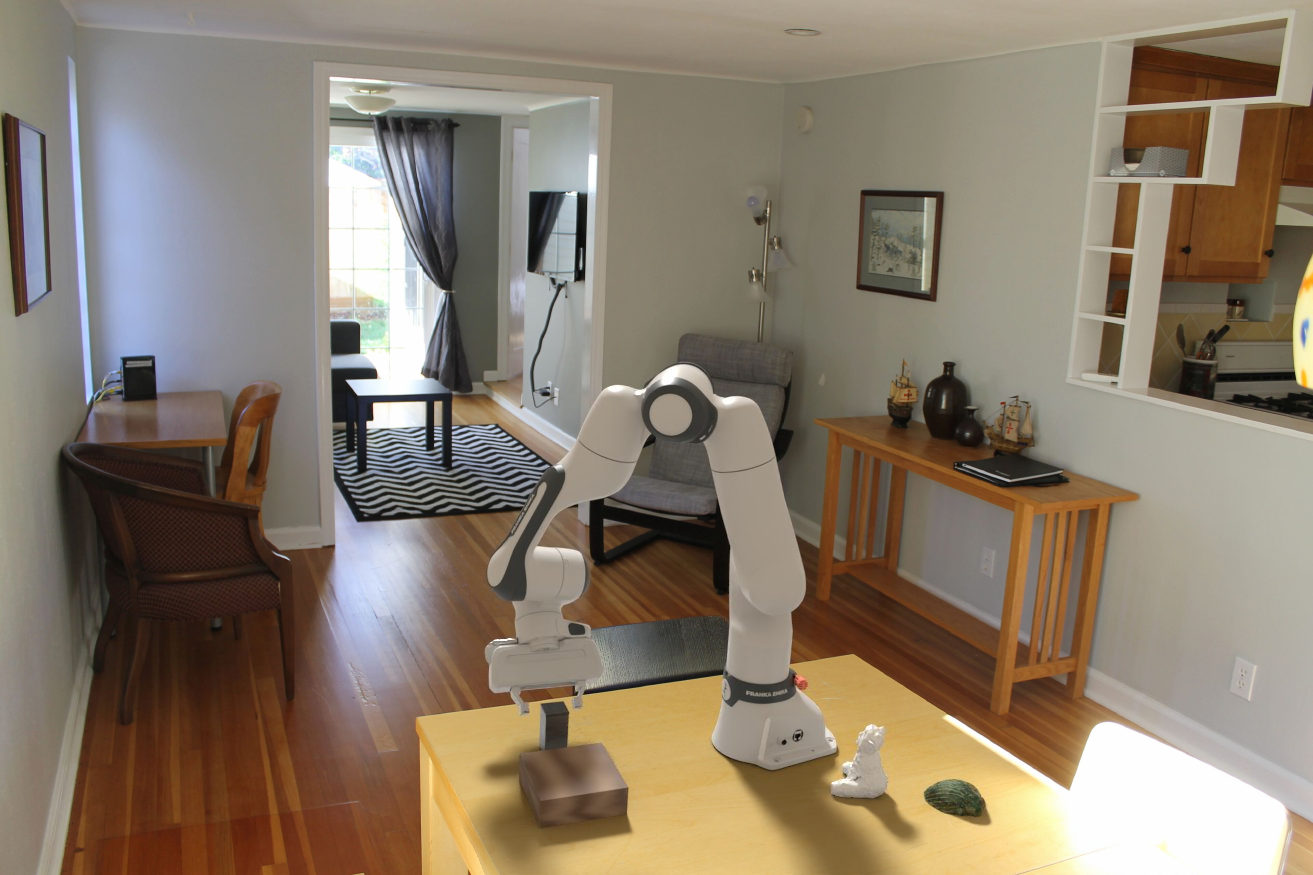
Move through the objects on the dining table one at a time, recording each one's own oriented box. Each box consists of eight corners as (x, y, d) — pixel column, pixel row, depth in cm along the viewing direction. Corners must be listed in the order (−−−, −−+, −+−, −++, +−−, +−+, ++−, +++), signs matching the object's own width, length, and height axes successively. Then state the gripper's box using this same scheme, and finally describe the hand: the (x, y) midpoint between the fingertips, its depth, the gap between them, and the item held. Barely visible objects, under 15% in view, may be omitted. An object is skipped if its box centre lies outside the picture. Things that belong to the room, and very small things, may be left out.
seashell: (959, 758, 172) (1002, 789, 163) (957, 779, 173) (1000, 811, 165) (912, 773, 168) (954, 806, 159) (911, 795, 169) (952, 829, 160)
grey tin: (561, 742, 177) (563, 700, 176) (567, 754, 174) (569, 712, 172) (538, 745, 176) (540, 703, 174) (544, 757, 172) (545, 714, 171)
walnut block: (600, 769, 170) (601, 742, 169) (626, 815, 158) (628, 787, 157) (518, 780, 166) (519, 753, 164) (539, 830, 153) (540, 800, 152)
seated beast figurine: (843, 768, 174) (850, 705, 172) (893, 782, 171) (901, 718, 168) (828, 795, 166) (835, 728, 164) (879, 810, 163) (887, 743, 160)
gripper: (486, 634, 176) (494, 711, 169) (598, 625, 183) (611, 699, 176) (481, 647, 181) (489, 723, 174) (591, 637, 188) (602, 710, 181)
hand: (551, 711), depth 175 cm, fingers open, 8 cm apart
